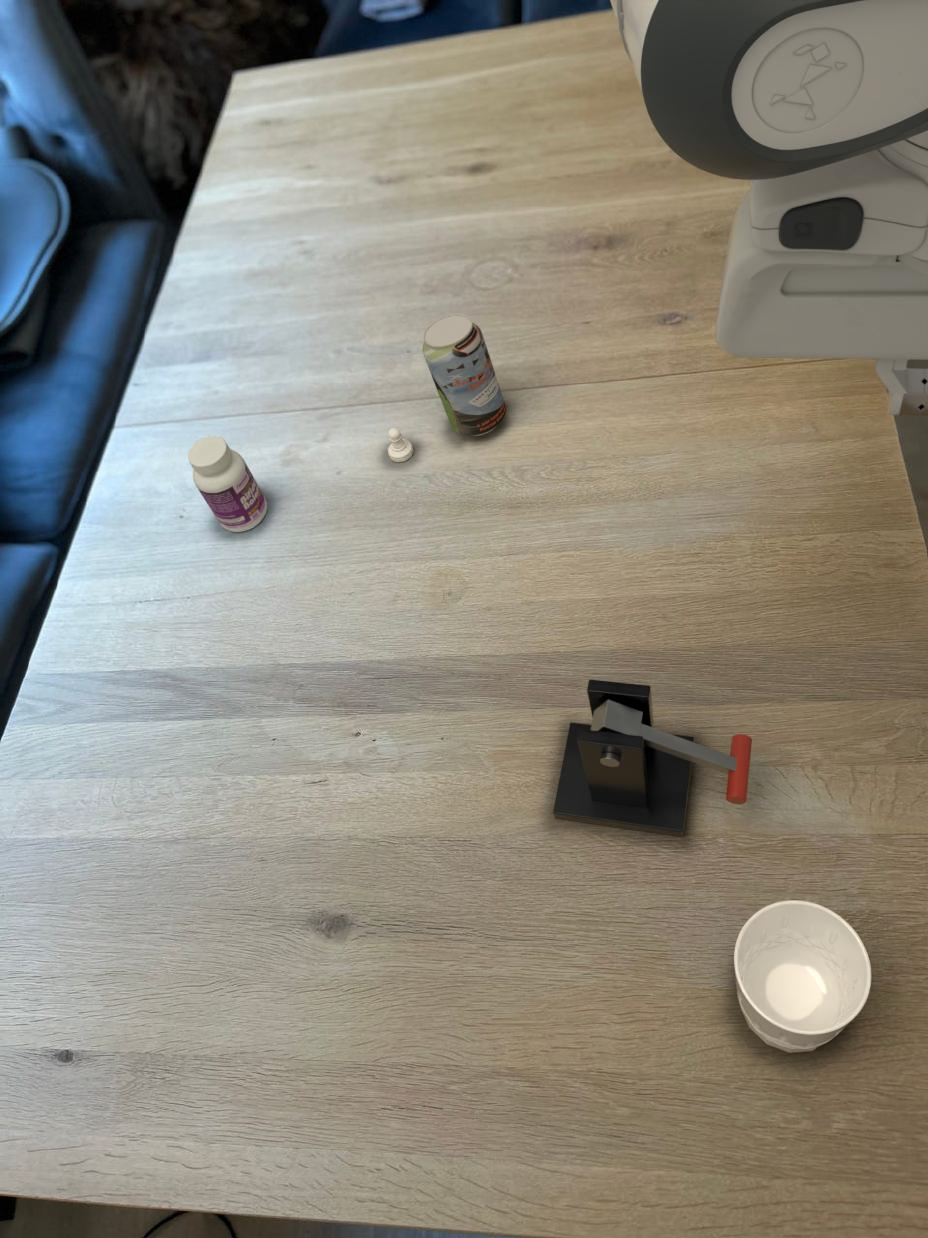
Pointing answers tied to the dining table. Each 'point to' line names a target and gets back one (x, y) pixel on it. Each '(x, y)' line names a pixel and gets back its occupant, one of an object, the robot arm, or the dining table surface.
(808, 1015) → the white cup
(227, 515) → the pill bottle
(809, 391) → the dining table surface
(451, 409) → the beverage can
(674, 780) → the switch bracket
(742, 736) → the power lever
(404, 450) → the chess pawn
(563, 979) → the dining table surface
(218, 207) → the dining table surface
